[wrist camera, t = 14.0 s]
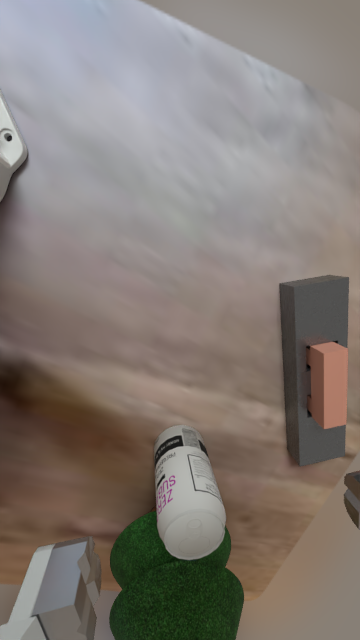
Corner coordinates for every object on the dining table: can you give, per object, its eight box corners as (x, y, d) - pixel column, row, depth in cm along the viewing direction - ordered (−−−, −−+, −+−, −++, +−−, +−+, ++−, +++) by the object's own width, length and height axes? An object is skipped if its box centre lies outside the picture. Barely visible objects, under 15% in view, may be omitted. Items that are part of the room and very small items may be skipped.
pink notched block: (295, 337, 42) (323, 353, 35) (315, 333, 42) (348, 348, 36) (297, 403, 45) (324, 429, 38) (316, 399, 45) (346, 424, 39)
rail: (279, 283, 39) (294, 286, 36) (329, 275, 40) (348, 277, 36) (287, 449, 47) (299, 466, 43) (328, 439, 48) (344, 455, 44)
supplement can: (202, 461, 46) (228, 557, 31) (154, 466, 45) (159, 568, 30) (202, 420, 44) (231, 503, 29) (152, 424, 43) (156, 512, 28)
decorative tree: (112, 561, 48) (66, 1014, 20) (116, 475, 44) (62, 896, 15) (213, 554, 51) (302, 940, 22) (226, 471, 47) (358, 822, 18)
